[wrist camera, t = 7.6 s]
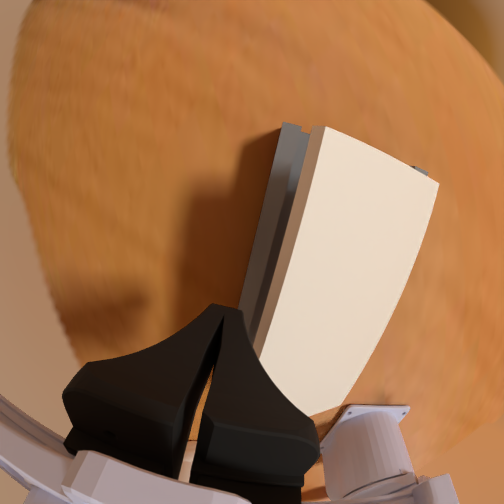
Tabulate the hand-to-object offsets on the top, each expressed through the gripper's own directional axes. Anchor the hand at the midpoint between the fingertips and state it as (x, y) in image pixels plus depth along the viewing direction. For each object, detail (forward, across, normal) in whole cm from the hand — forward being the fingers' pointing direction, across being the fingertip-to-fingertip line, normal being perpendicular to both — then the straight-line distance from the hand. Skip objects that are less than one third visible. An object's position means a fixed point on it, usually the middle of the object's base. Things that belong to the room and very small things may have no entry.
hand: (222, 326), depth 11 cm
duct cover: (+3, -6, 0) cm, 6 cm away
